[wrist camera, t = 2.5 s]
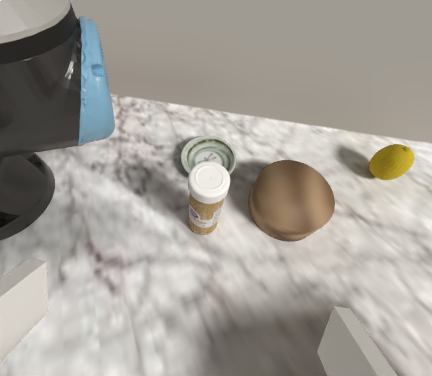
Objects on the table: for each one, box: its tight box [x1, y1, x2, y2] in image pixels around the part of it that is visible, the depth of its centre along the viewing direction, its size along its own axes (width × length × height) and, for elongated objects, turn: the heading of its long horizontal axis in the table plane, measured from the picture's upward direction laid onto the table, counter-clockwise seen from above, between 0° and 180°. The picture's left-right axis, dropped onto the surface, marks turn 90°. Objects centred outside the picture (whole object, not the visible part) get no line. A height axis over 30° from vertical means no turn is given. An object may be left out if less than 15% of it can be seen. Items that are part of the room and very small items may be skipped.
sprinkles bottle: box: [188, 161, 230, 235], centre depth 30 cm, size 5×5×14 cm
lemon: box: [369, 144, 414, 180], centre depth 41 cm, size 6×6×8 cm
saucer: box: [181, 136, 236, 175], centre depth 40 cm, size 10×10×2 cm
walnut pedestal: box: [249, 160, 335, 241], centre depth 37 cm, size 12×12×5 cm
